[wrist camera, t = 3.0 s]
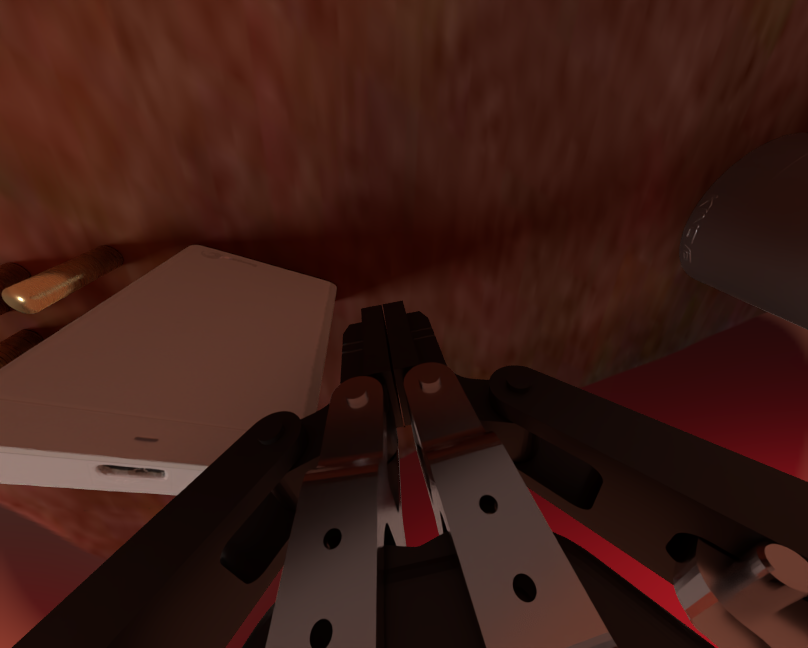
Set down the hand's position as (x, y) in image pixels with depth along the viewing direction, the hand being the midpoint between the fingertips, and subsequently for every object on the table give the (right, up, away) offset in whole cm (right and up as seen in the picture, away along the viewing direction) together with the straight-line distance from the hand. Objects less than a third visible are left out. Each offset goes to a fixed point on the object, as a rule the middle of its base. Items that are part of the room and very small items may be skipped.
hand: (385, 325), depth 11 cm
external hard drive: (-7, +3, +7) cm, 11 cm away
